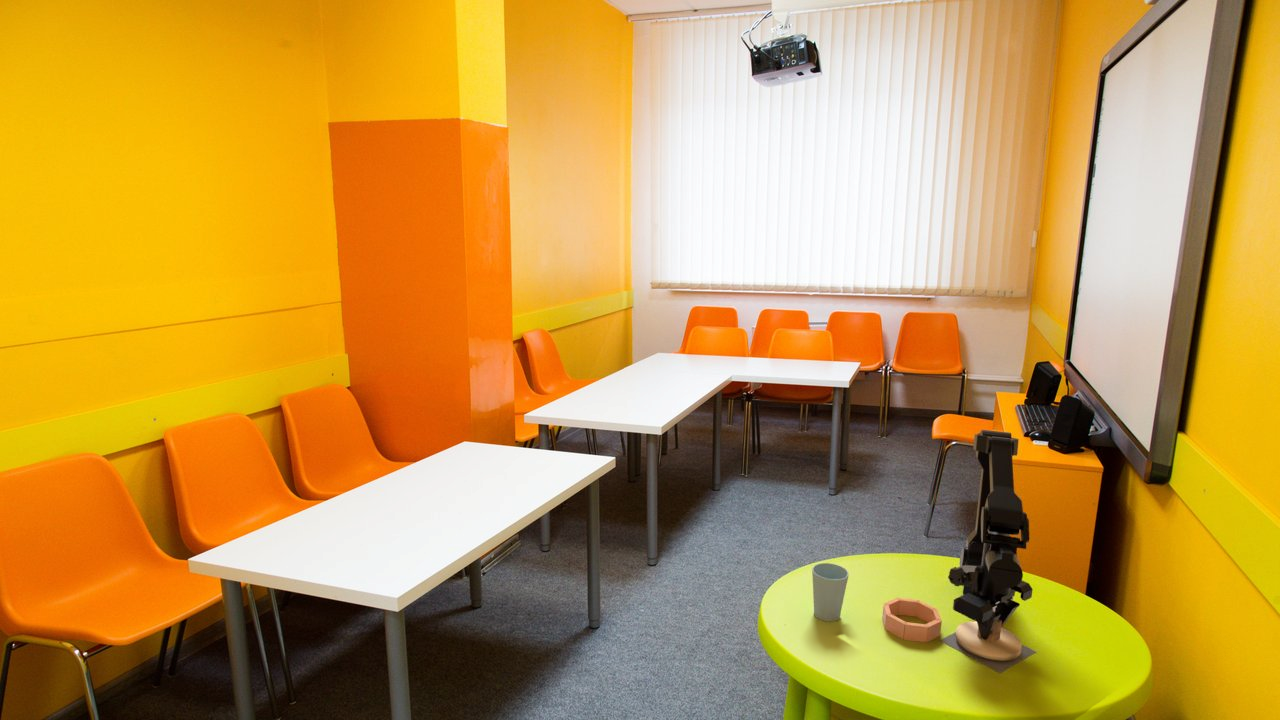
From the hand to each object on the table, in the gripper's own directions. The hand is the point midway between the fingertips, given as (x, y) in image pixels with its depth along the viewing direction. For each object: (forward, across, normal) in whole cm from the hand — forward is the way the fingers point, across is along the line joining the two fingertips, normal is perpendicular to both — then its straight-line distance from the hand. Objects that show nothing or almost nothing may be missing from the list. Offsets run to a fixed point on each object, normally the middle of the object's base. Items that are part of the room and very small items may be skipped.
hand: (988, 636), depth 150 cm
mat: (+3, 0, 0) cm, 3 cm away
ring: (+3, +7, -13) cm, 15 cm away
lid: (+2, 0, 0) cm, 2 cm away
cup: (+4, +17, -27) cm, 32 cm away
